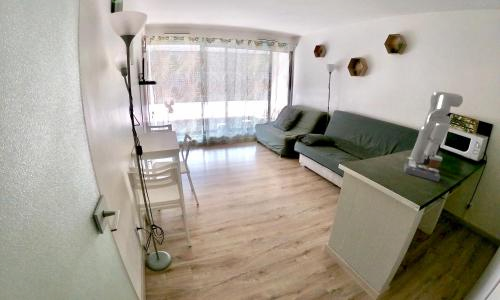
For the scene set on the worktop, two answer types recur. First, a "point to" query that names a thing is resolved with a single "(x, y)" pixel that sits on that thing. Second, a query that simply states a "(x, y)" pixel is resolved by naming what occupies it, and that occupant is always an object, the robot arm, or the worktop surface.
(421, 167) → the block
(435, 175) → the rocker switch panel
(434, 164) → the disposable coffee cup
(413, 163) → the block
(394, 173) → the worktop surface
